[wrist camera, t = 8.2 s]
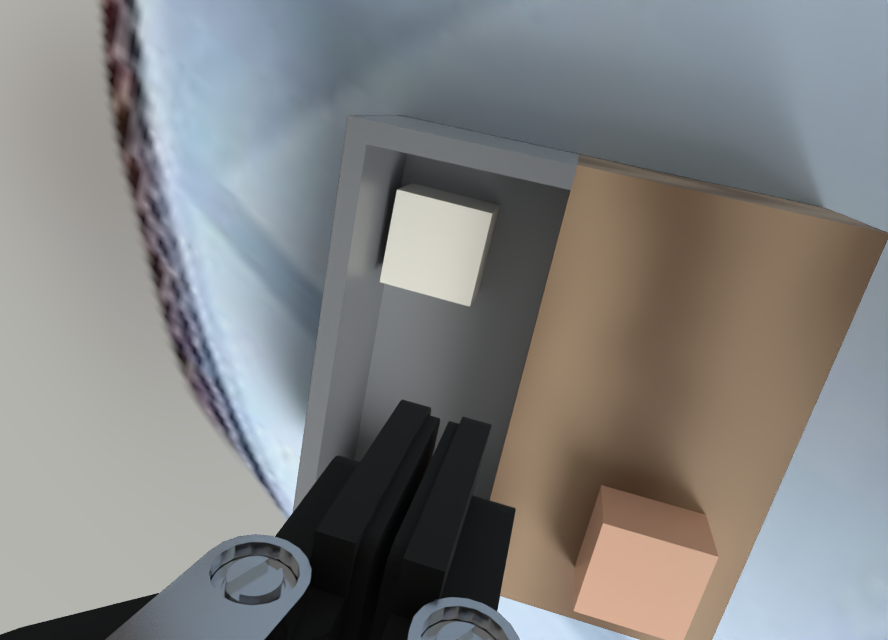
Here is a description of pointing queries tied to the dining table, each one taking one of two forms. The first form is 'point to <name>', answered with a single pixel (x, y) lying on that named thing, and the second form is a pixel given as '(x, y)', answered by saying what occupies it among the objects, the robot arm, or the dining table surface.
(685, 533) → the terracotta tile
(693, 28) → the dining table surface
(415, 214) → the cream block
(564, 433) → the bench plate
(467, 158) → the box
